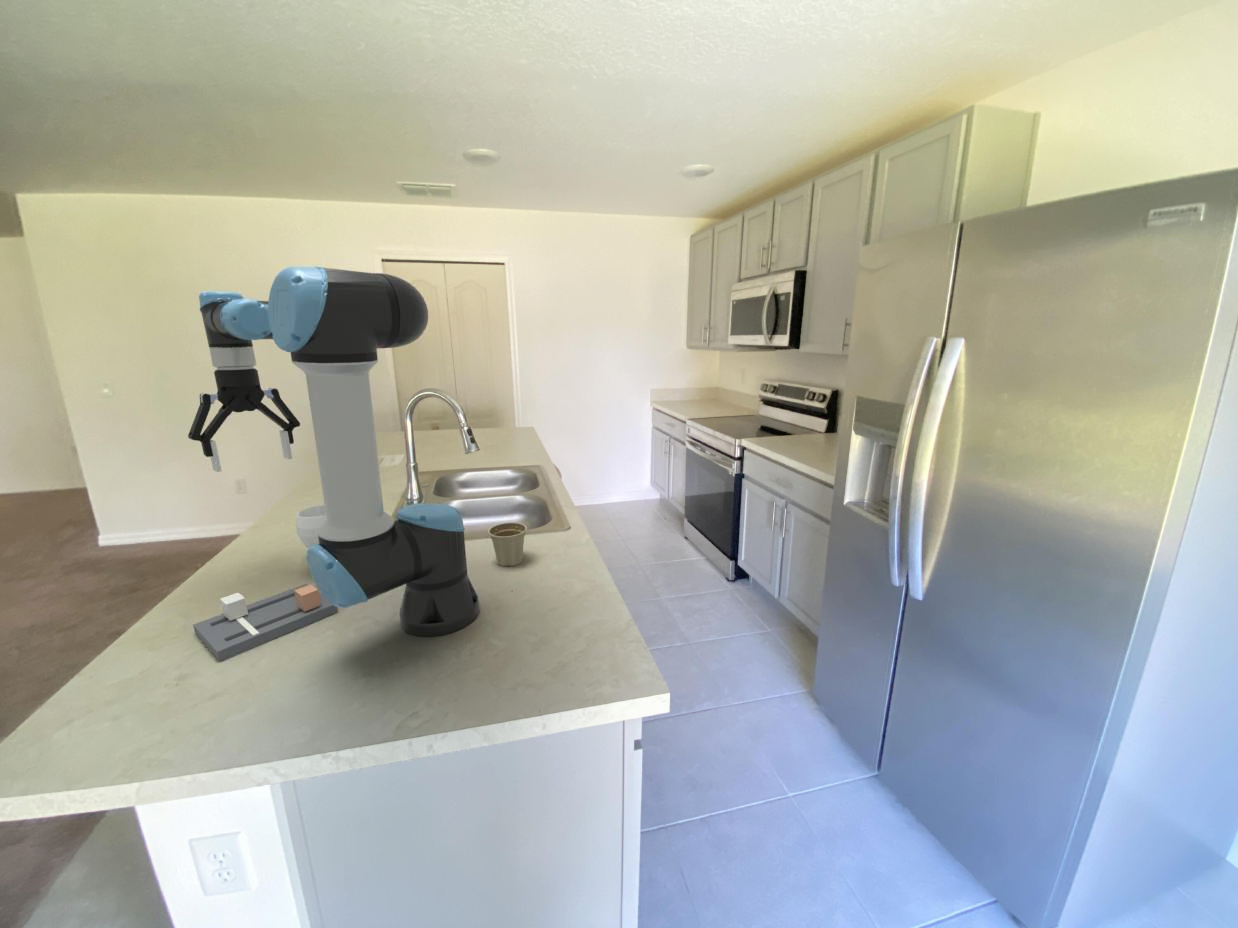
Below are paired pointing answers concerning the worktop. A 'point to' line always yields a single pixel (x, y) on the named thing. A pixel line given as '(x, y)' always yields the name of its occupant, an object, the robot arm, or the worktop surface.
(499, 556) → the flower pot
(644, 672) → the worktop surface
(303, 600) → the fader front
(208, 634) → the console
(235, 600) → the block
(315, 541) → the cup
